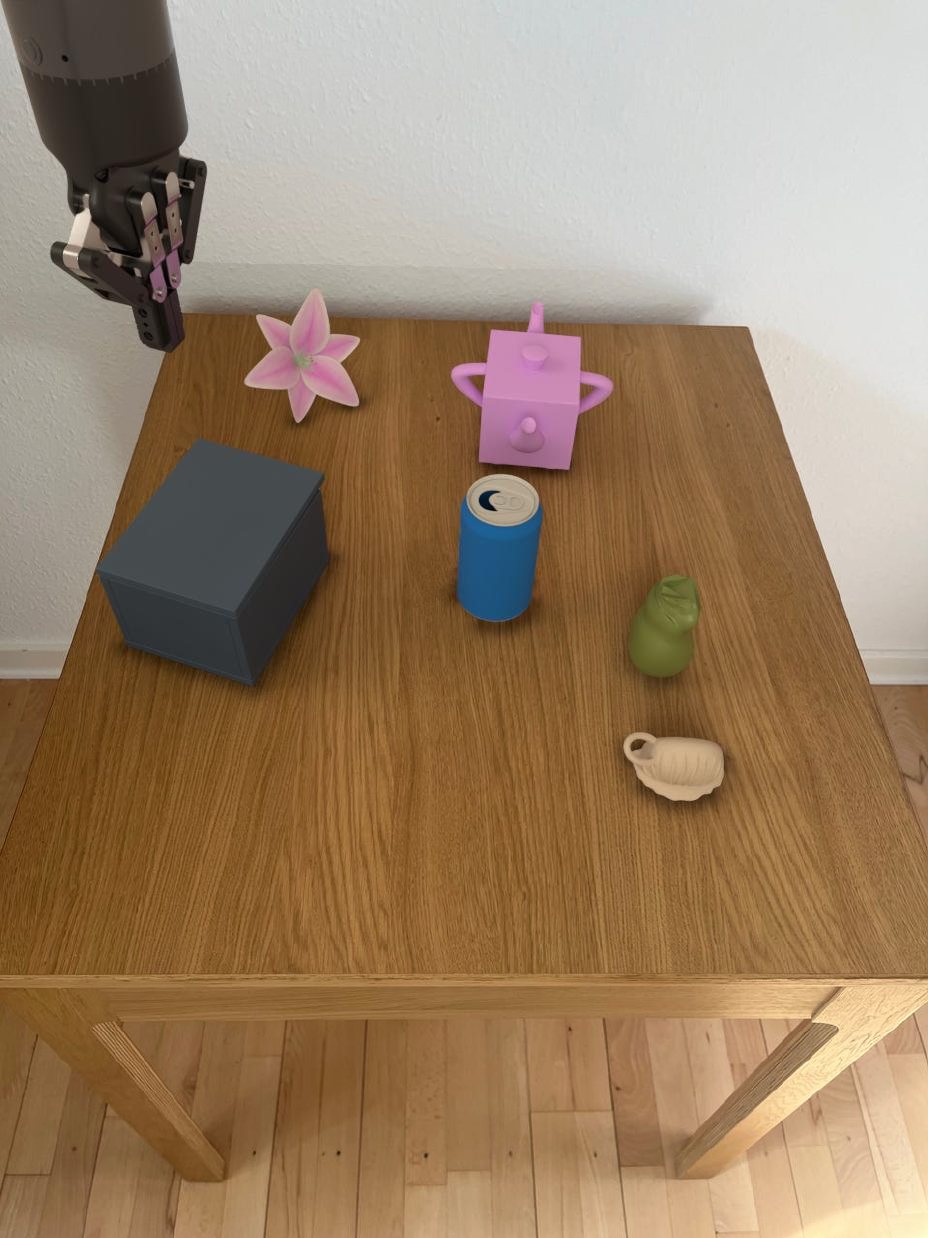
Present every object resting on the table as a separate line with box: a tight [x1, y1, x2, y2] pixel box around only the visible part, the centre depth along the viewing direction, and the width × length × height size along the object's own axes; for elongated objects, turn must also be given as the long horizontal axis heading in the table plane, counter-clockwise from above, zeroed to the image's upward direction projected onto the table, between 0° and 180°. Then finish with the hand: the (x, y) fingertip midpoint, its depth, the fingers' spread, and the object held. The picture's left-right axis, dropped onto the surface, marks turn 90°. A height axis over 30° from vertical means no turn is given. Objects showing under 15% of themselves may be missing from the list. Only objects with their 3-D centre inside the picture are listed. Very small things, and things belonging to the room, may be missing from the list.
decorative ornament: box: [622, 731, 725, 802], centre depth 70 cm, size 4×8×5 cm, turn 84°
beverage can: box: [456, 473, 544, 622], centre depth 77 cm, size 6×6×12 cm
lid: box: [95, 437, 325, 618], centre depth 74 cm, size 15×12×1 cm
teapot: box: [450, 301, 614, 471], centre depth 91 cm, size 15×13×11 cm
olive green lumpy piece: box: [627, 574, 702, 679], centre depth 74 cm, size 6×5×10 cm
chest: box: [98, 488, 330, 688], centre depth 77 cm, size 15×12×9 cm
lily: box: [243, 287, 361, 424], centre depth 96 cm, size 12×12×10 cm
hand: (165, 343), depth 60 cm, fingers closed
